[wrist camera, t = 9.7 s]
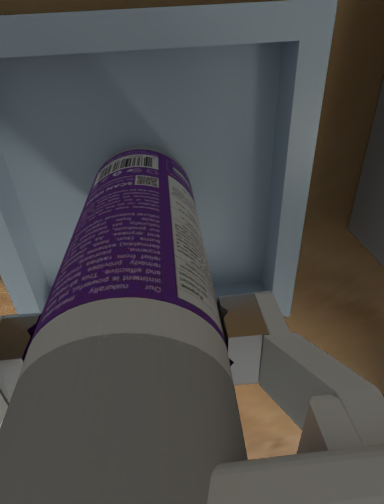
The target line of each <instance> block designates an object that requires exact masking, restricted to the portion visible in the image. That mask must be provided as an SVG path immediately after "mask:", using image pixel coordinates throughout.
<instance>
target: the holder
mask: <svg viewBox="0 0 384 504" xmlns="http://www.w3.org/2000/svg"><path fill="white" fill-rule="evenodd" d="M348 230H349V231H350V232H351V233H352V234H353V235H354V236H355V237H356V238H357V239H358V240H359V241H360V243H361V244H362V245H363V246H364V247H365V248H366V249H367V250H368V251H369V252H370V253H371V254H372V255H373V256H374V257H375V258H376V260H377V261H378V262H379V263H380V264H381V265H382V266H383V267H384V77H383V81H382V86H381V90H380V94H379V98H378V103H377V107H376V111H375V115H374V120H373V124H372V128H371V132H370V137H369V141H368V145H367V150H366V154H365V158H364V162H363V167H362V171H361V175H360V179H359V184H358V188H357V192H356V196H355V201H354V205H353V209H352V213H351V218H350V222H349V226H348Z"/></svg>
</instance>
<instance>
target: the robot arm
mask: <svg viewBox="0 0 384 504" xmlns="http://www.w3.org/2000/svg"><path fill="white" fill-rule="evenodd" d="M217 305H218V310H219V314H220V319H221V323H222V328H223V332H224V337H225V341H226V346H227V350H228V356H229V362H230V367H231V372H232V378H233V383H234V385H239V384H252V383H259V385H260V386H261V387H262V388H263V389H264V390H265V392H266V393H267V394H268V395H269V396H270V397H271V398H272V399H273V400H274V401H275V402H276V403H277V404H278V405H279V406H280V407H281V408H282V410H283V411H284V412H285V413H286V414H287V415H288V416H289V417H290V418H291V419H292V420H293V421H294V422H295V423H296V424H297V425H298V426H299V428H300V429H301V430H302V434H301V438H300V442H299V447H298V451H297V454H294V455H285V456H277V457H268V458H259V459H251V460H242V461H234V462H225V463H221V464H219V465H217V466H216V467H215V469H214V470H213V472H212V475H211V479H210V486H209V494H208V501H207V504H384V397H383V395H382V394H381V392H380V390H379V389H378V388H377V387H376V386H374V385H373V384H371V383H370V382H369V381H367V380H366V379H364V378H363V377H361V376H360V375H358V374H357V373H355V372H354V371H352V370H351V369H349V368H348V367H347V366H345V365H344V364H342V363H341V362H339V361H338V360H336V359H335V358H333V357H332V356H330V355H329V354H327V353H326V352H324V351H323V350H322V349H320V348H319V347H317V346H316V345H314V344H313V343H311V342H310V341H308V340H307V339H305V338H304V337H302V336H301V335H299V334H298V333H297V332H293V333H291V332H290V330H289V328H288V326H287V323H286V321H285V319H284V317H283V314H282V312H281V310H280V308H279V306H278V303H277V301H276V299H275V297H274V294H273V292H271V291H262V292H253V293H246V294H236V295H226V296H218V297H217ZM41 314H42V313H30V314H16V315H6V316H0V423H1V422H2V421H3V419H4V417H5V414H6V411H7V408H8V405H9V403H10V400H11V397H12V394H13V391H14V389H15V386H16V383H17V380H18V377H19V374H20V371H21V368H22V366H23V363H24V360H25V357H26V354H27V350H28V347H29V344H30V342H31V339H32V337H33V334H34V332H35V329H36V327H37V324H38V322H39V319H40V316H41Z"/></svg>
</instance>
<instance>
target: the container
mask: <svg viewBox="0 0 384 504" xmlns="http://www.w3.org/2000/svg"><path fill="white" fill-rule="evenodd" d="M242 460H248V458H247V453H246V448H245V442H244V437H243V431H242V426H241V421H240V415H239V410H238V405H237V399H236V394H235V389H234V383H233V378H232V372H231V367H230V362H229V356H228V350H227V346H226V341H225V337H224V332H223V328H222V323H221V319H220V314H219V310H218V305H217V300H216V296H215V291H214V287H213V282H212V278H211V273H210V269H209V264H208V260H207V255H206V251H205V246H204V242H203V237H202V233H201V228H200V224H199V219H198V214H197V210H196V205H195V201H194V196H193V192H192V187H191V184H190V180H189V177H188V175H187V173H186V171H185V170H184V168H183V167H182V165H181V164H180V163H179V162H178V161H177V160H176V159H175V158H174V157H172V156H171V155H169V154H168V153H166V152H164V151H162V150H159V149H156V148H152V147H145V146H136V147H130V148H126V149H123V150H120V151H118V152H116V153H115V154H113V155H112V156H110V157H109V158H108V159H107V160H106V161H105V162H104V163H103V164H102V166H101V167H100V169H99V170H98V172H97V175H96V177H95V179H94V182H93V184H92V187H91V189H90V192H89V194H88V197H87V199H86V202H85V204H84V207H83V210H82V212H81V215H80V217H79V220H78V222H77V225H76V227H75V230H74V232H73V235H72V238H71V240H70V243H69V245H68V248H67V250H66V253H65V255H64V258H63V260H62V263H61V266H60V268H59V271H58V273H57V276H56V278H55V281H54V283H53V286H52V288H51V291H50V294H49V296H48V299H47V301H46V304H45V306H44V309H43V311H42V314H41V316H40V319H39V322H38V324H37V327H36V329H35V332H34V334H33V337H32V339H31V342H30V344H29V347H28V350H27V354H26V357H25V360H24V363H23V366H22V368H21V371H20V374H19V377H18V380H17V383H16V386H15V389H14V391H13V394H12V397H11V400H10V403H9V405H8V408H7V411H6V414H5V417H4V420H3V423H2V426H1V428H0V504H207V501H208V494H209V486H210V479H211V475H212V472H213V470H214V469H215V467H216V466H217V465H219V464H221V463H225V462H234V461H242Z"/></svg>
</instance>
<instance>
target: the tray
mask: <svg viewBox="0 0 384 504" xmlns="http://www.w3.org/2000/svg"><path fill="white" fill-rule="evenodd" d="M337 3H338V0H287V1H268V2H248V3H229V4H210V5H191V6H172V7H153V8H134V9H114V10H95V11H76V12H57V13H38V14H19V15H0V276H1V278H2V280H3V283H4V285H5V287H6V289H7V292H8V294H9V296H10V298H11V301H12V303H13V305H14V307H15V310H16V312H17V314H30V313H42V311H43V309H44V306H45V304H46V301H47V299H48V296H49V294H50V291H51V288H52V286H53V283H54V281H55V278H56V276H57V273H58V271H59V268H60V266H61V263H62V260H63V258H64V255H65V253H66V250H67V248H68V245H69V243H70V240H71V238H72V235H73V232H74V230H75V227H76V225H77V222H78V220H79V217H80V215H81V212H82V210H83V207H84V204H85V202H86V199H87V197H88V194H89V192H90V189H91V187H92V184H93V182H94V179H95V177H96V175H97V172H98V170H99V169H100V167H101V166H102V164H103V163H104V162H105V161H106V160H107V159H108V158H109V157H110V156H112V155H113V154H115V153H116V152H118V151H120V150H123V149H126V148H130V147H136V146H145V147H152V148H156V149H159V150H162V151H164V152H166V153H168V154H169V155H171V156H172V157H174V158H175V159H176V160H177V161H178V162H179V163H180V164H181V165H182V167H183V168H184V170H185V171H186V173H187V175H188V177H189V180H190V184H191V187H192V192H193V196H194V201H195V205H196V210H197V214H198V219H199V224H200V228H201V233H202V237H203V242H204V246H205V251H206V255H207V260H208V264H209V269H210V273H211V278H212V282H213V287H214V291H215V296H216V300H217V297H218V296H226V295H236V294H246V293H253V292H262V291H271V292H273V294H274V297H275V299H276V301H277V303H278V306H279V308H280V310H281V312H282V314H283V317H288V316H290V311H291V305H292V298H293V292H294V285H295V279H296V272H297V265H298V259H299V252H300V246H301V239H302V233H303V226H304V219H305V213H306V206H307V200H308V193H309V187H310V180H311V174H312V167H313V160H314V154H315V147H316V141H317V134H318V128H319V121H320V115H321V108H322V101H323V95H324V88H325V82H326V75H327V69H328V62H329V55H330V49H331V42H332V36H333V29H334V23H335V16H336V10H337Z"/></svg>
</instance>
